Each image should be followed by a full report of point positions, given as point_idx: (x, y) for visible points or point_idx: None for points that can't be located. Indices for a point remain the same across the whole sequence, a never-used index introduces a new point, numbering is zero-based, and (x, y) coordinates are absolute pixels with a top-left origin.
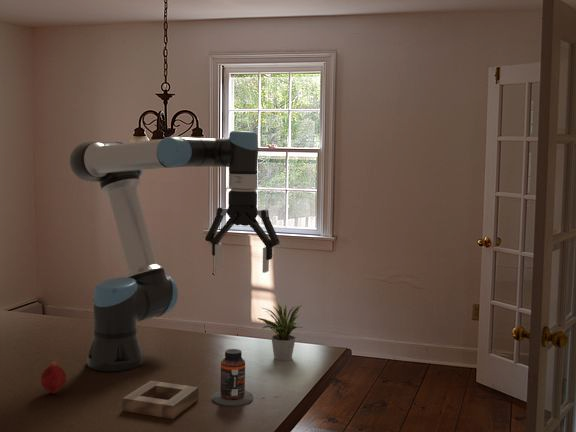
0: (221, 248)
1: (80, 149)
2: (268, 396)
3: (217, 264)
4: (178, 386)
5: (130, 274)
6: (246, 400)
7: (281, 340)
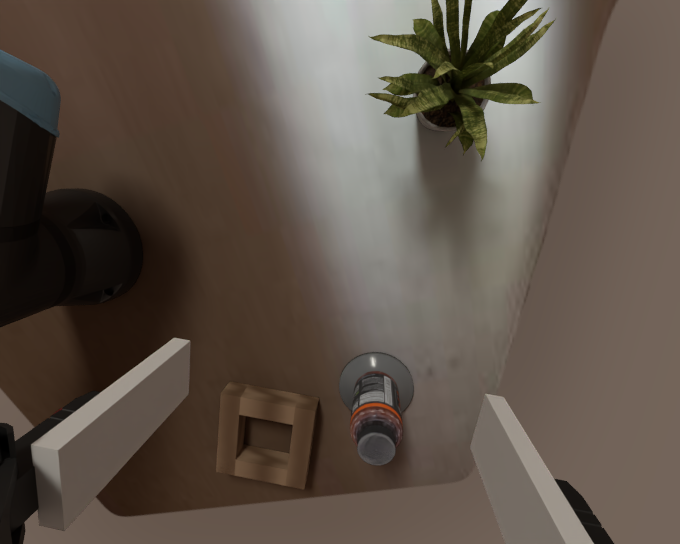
0: (99, 417)
1: None
2: (439, 365)
3: (174, 407)
4: (279, 412)
5: None
6: (405, 403)
7: (449, 129)
